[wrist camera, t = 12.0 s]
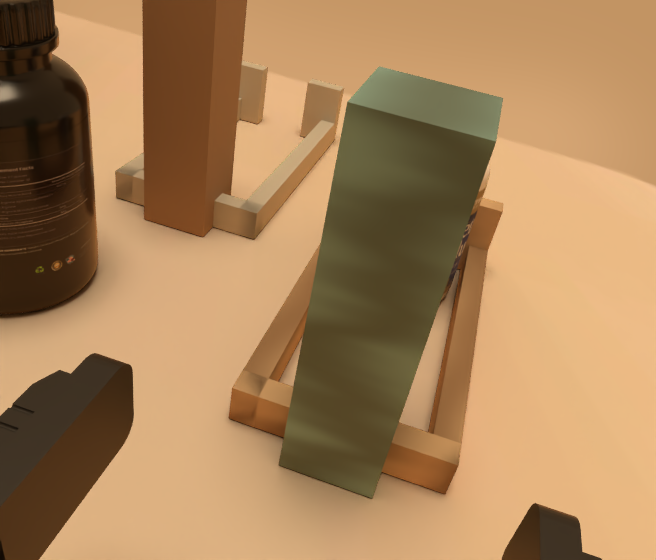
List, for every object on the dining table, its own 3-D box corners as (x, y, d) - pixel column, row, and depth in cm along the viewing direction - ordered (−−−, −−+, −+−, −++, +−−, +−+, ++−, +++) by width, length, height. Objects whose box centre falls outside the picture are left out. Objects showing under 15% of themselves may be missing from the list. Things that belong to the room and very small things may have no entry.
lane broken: (103, 206, 33) (89, -67, 25) (233, 111, 47) (248, -83, 39) (245, 250, 32) (274, -23, 24) (334, 139, 46) (370, -55, 38)
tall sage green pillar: (214, 442, 21) (248, 75, 14) (341, 224, 35) (392, -18, 28) (441, 523, 20) (607, 171, 13) (479, 265, 34) (570, 24, 27)
